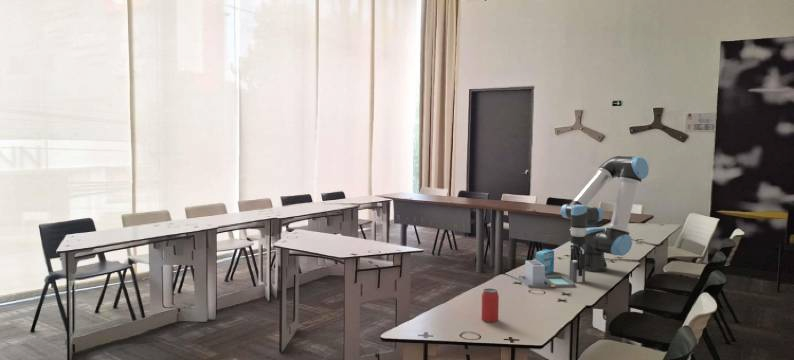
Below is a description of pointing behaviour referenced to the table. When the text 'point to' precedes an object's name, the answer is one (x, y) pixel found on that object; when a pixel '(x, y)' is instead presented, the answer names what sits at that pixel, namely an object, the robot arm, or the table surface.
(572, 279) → the plug
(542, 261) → the data package
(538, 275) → the block
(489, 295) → the beer can
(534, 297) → the table surface
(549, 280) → the grey flat panel
